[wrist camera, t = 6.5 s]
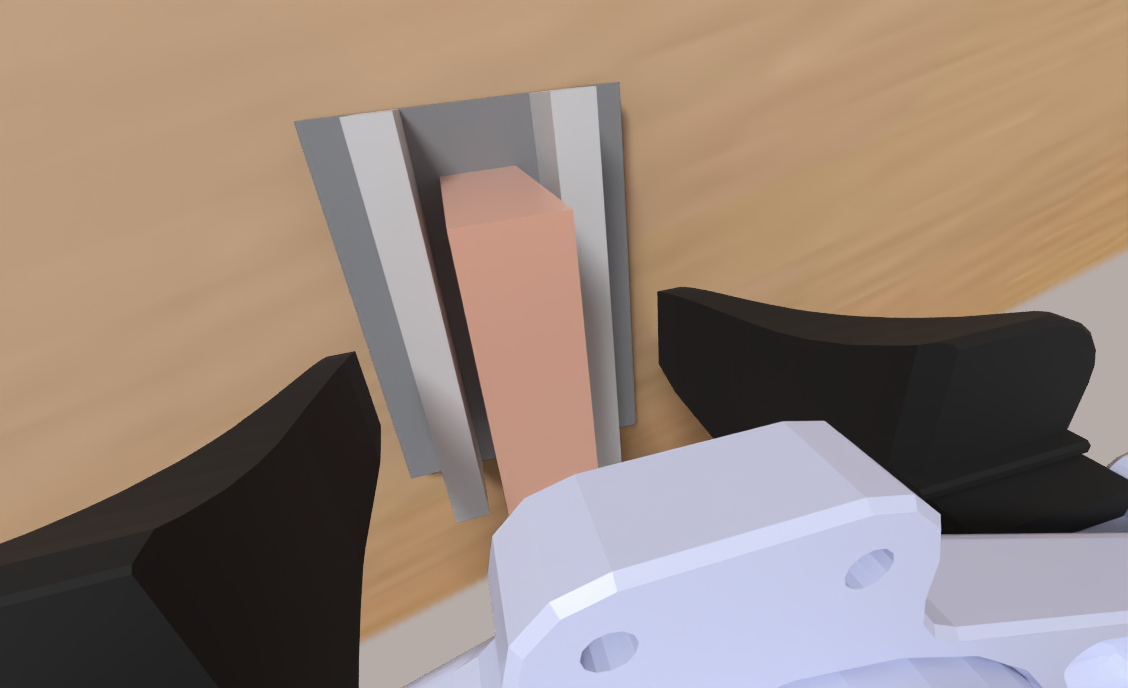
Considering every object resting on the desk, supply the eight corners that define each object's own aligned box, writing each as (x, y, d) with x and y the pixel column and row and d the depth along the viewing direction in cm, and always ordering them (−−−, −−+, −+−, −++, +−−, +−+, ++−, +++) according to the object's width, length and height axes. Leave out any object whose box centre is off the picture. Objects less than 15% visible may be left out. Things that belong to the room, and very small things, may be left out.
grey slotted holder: (412, 459, 17) (408, 535, 14) (302, 120, 12) (261, 126, 9) (626, 408, 19) (664, 468, 16) (607, 82, 14) (658, 78, 11)
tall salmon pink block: (493, 425, 16) (522, 577, 11) (439, 176, 13) (446, 230, 8) (551, 412, 17) (606, 553, 12) (515, 165, 13) (572, 208, 8)
